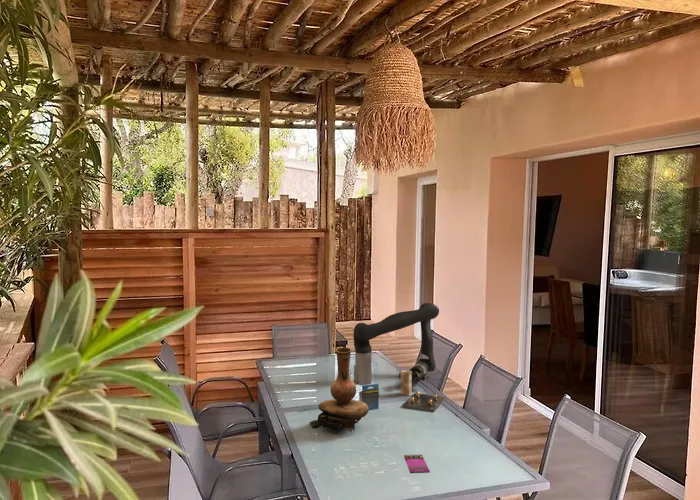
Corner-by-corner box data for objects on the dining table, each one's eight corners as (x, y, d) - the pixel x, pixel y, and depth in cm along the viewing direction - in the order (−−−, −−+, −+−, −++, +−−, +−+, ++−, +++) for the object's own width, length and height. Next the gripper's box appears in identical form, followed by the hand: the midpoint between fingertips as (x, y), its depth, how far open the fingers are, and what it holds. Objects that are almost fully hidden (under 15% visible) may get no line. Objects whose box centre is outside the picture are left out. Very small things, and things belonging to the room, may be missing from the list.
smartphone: (422, 456, 211) (422, 454, 211) (430, 473, 196) (430, 470, 196) (403, 457, 211) (403, 455, 211) (410, 473, 196) (410, 471, 196)
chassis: (402, 407, 266) (402, 399, 266) (414, 395, 284) (414, 388, 284) (434, 411, 259) (434, 404, 259) (445, 399, 277) (445, 392, 277)
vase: (318, 439, 227) (317, 355, 226) (307, 420, 249) (307, 344, 247) (372, 432, 234) (372, 351, 232) (357, 415, 255) (357, 341, 253)
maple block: (400, 394, 286) (400, 371, 285) (403, 392, 290) (403, 369, 289) (408, 395, 284) (408, 372, 283) (411, 393, 288) (411, 370, 288)
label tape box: (375, 406, 268) (375, 381, 267) (379, 408, 264) (378, 383, 264) (358, 408, 265) (358, 383, 264) (362, 411, 261) (362, 385, 260)
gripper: (405, 363, 308) (395, 371, 293) (430, 366, 302) (421, 373, 287) (405, 377, 308) (396, 384, 294) (430, 379, 302) (421, 387, 288)
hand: (408, 379), depth 290 cm, fingers open, 8 cm apart
